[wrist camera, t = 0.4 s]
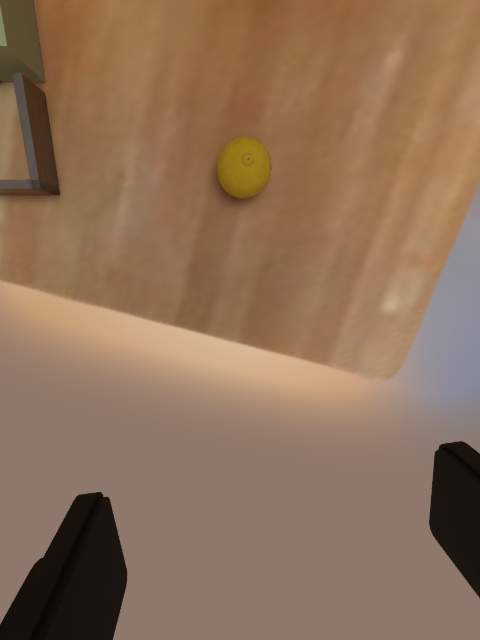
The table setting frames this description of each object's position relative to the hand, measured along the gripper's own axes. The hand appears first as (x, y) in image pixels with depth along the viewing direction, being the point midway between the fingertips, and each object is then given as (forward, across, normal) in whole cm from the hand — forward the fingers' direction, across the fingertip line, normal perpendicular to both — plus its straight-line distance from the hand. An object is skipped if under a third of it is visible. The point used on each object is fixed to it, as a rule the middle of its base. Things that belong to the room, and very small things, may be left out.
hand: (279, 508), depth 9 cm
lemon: (+31, -3, -14) cm, 35 cm away
